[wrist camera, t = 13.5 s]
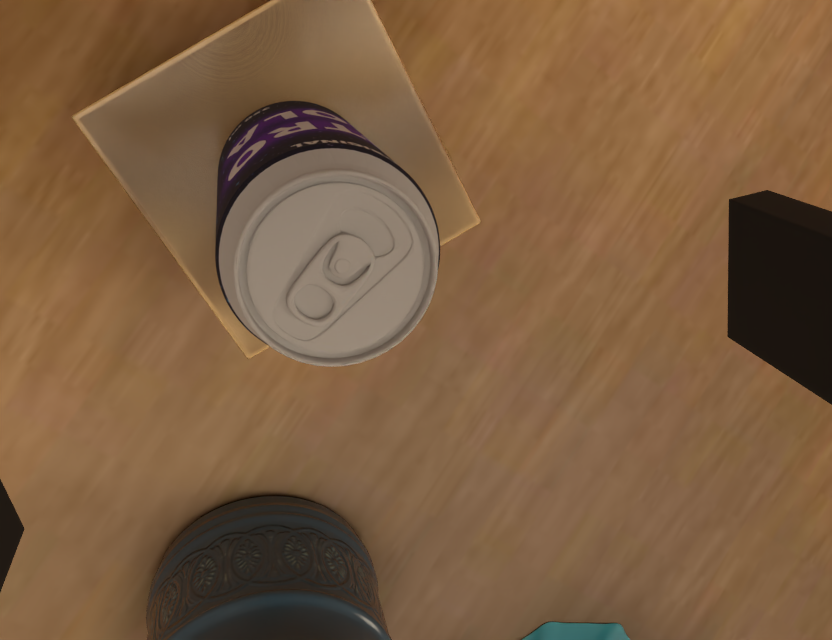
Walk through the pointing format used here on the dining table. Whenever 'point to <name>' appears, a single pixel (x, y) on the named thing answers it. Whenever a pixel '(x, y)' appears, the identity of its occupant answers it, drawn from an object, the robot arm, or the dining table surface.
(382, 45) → the wooden block
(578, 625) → the vase
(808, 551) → the dining table surface
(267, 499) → the canister
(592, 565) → the dining table surface
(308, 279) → the beverage can
